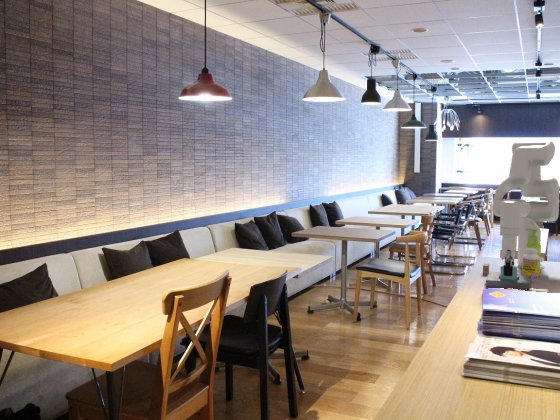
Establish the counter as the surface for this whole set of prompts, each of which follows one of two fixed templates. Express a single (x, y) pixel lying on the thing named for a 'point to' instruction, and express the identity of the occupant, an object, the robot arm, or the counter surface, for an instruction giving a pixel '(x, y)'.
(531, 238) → the soap dispenser
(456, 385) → the counter surface
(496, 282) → the port
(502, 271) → the plug
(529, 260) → the supplement bottle
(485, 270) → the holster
